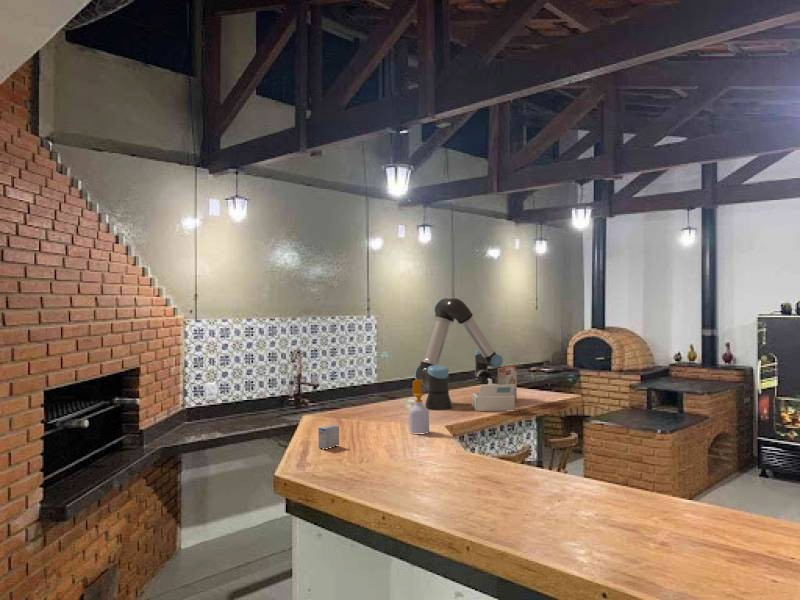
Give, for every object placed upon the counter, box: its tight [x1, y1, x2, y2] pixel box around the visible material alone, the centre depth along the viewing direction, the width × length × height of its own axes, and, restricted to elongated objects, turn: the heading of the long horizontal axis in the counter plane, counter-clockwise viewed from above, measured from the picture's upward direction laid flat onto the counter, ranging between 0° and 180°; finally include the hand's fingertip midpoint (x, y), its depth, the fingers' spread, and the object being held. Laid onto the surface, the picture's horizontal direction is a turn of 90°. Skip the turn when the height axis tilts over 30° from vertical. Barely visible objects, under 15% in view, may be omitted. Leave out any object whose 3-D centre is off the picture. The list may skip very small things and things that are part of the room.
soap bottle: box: [408, 380, 430, 433], centre depth 266 cm, size 9×9×25 cm
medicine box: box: [317, 424, 340, 449], centre depth 242 cm, size 8×4×9 cm, turn 141°
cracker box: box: [497, 365, 518, 402], centre depth 342 cm, size 14×6×21 cm, turn 143°
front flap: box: [479, 384, 515, 397], centre depth 311 cm, size 18×10×1 cm
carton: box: [471, 391, 516, 412], centre depth 323 cm, size 21×17×8 cm
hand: (490, 382), depth 323 cm, fingers closed
